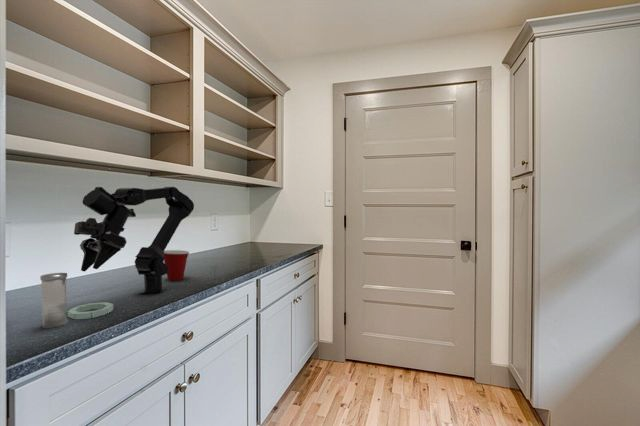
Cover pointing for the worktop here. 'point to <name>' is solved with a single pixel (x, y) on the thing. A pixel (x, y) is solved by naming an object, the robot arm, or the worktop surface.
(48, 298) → the glass jar
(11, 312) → the worktop surface
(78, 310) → the collar ring
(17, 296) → the worktop surface
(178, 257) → the plastic cup
